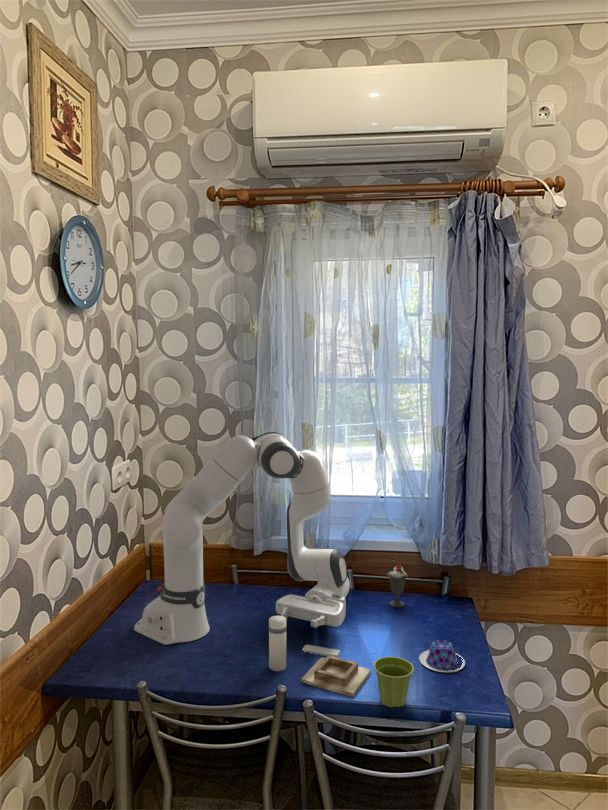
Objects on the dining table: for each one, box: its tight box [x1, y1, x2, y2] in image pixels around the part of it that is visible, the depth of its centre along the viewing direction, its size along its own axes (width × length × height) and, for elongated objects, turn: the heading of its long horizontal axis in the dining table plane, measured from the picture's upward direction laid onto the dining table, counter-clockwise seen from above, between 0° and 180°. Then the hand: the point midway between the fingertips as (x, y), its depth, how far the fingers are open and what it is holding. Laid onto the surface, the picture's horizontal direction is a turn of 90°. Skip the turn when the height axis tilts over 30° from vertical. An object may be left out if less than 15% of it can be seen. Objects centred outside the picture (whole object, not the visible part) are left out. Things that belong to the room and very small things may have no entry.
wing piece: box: [301, 644, 341, 658], centre depth 171 cm, size 10×3×1 cm, turn 71°
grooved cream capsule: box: [268, 615, 287, 672], centre depth 162 cm, size 5×5×13 cm
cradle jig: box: [300, 655, 372, 698], centre depth 158 cm, size 14×12×3 cm
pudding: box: [418, 639, 466, 673], centre depth 165 cm, size 12×12×5 cm
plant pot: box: [373, 656, 415, 708], centre depth 147 cm, size 9×9×9 cm
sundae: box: [386, 561, 409, 608], centre depth 200 cm, size 7×7×15 cm
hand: (297, 621), depth 173 cm, fingers open, 8 cm apart
